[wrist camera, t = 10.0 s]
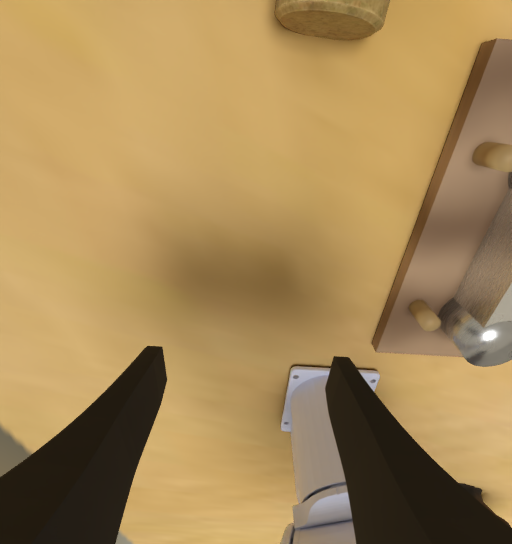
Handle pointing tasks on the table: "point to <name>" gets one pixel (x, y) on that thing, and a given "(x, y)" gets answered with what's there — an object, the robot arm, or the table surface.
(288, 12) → the gavel
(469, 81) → the board
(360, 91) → the table surface
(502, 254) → the silver ball-ended bar
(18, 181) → the table surface
